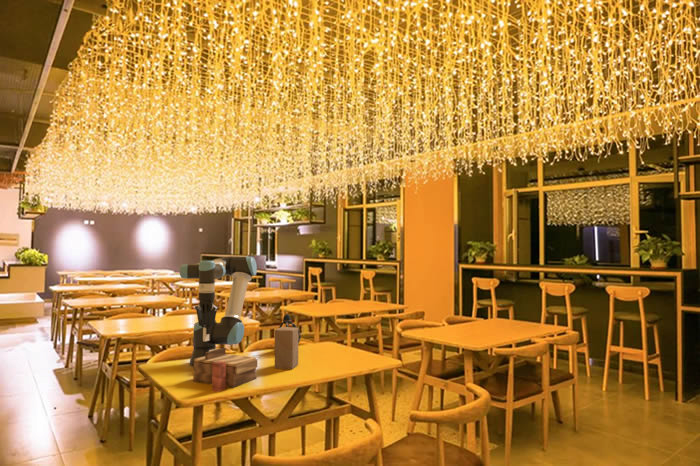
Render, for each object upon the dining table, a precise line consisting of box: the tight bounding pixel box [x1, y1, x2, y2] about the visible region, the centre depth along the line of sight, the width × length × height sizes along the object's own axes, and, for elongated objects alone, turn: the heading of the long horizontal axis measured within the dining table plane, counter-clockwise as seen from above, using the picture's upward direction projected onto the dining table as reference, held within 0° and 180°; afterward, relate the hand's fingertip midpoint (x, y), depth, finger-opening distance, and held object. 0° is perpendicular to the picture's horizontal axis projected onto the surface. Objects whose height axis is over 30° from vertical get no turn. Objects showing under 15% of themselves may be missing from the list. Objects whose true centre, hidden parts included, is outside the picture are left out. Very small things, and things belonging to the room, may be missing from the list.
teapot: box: [274, 313, 302, 344], centre depth 281 cm, size 12×25×23 cm, turn 34°
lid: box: [194, 347, 258, 375], centre depth 215 cm, size 26×15×8 cm, turn 64°
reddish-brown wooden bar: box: [211, 361, 227, 392], centre depth 200 cm, size 4×4×12 cm
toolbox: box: [192, 361, 257, 389], centre depth 215 cm, size 24×16×9 cm, turn 64°
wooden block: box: [274, 326, 299, 370], centre depth 241 cm, size 10×10×20 cm
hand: (206, 340), depth 221 cm, fingers closed
